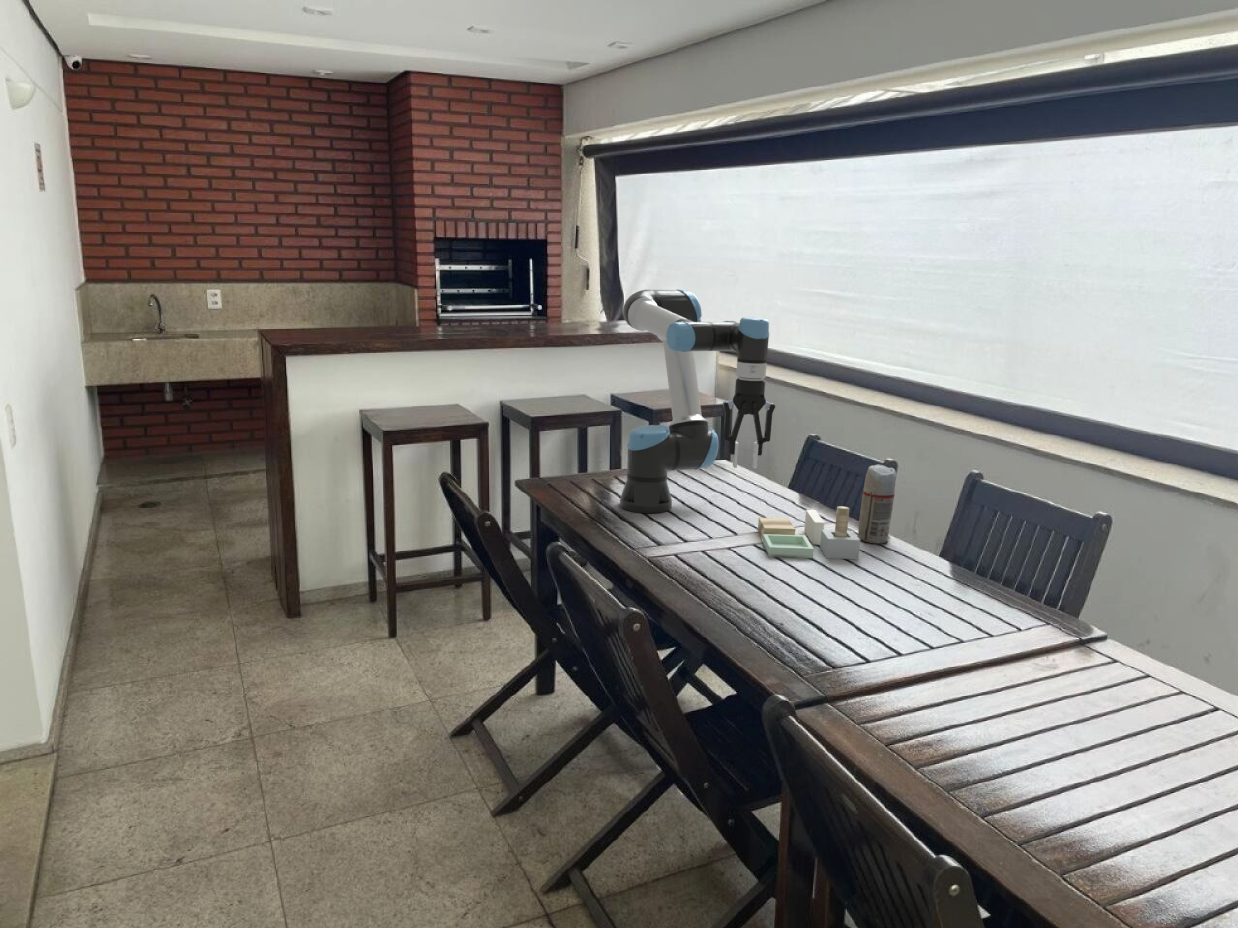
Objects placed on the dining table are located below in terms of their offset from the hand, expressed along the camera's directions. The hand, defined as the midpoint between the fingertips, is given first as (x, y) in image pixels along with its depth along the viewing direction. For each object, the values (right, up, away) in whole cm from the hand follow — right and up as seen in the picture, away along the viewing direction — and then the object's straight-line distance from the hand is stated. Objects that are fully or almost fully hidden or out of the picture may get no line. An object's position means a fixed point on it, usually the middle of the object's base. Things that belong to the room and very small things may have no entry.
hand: (744, 466), depth 253 cm
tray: (+10, -21, -7) cm, 25 cm away
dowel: (+23, -22, -8) cm, 33 cm away
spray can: (+35, -20, +5) cm, 40 cm away
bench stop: (+19, -19, +4) cm, 27 cm away
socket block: (+23, -22, -8) cm, 33 cm away
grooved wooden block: (+9, -19, +4) cm, 21 cm away
